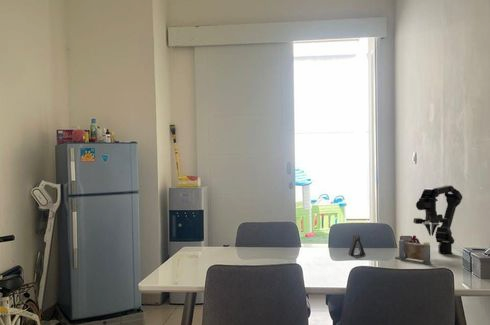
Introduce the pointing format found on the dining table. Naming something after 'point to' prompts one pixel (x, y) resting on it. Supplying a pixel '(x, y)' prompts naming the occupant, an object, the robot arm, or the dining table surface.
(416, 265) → the dining table surface
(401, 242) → the gate posts
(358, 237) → the phone stand
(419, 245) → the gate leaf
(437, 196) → the robot arm
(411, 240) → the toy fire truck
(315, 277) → the dining table surface
